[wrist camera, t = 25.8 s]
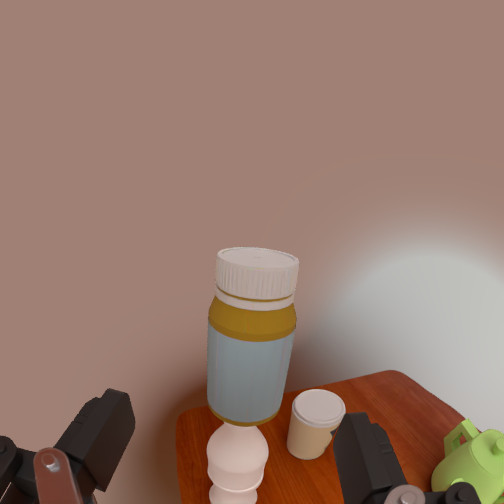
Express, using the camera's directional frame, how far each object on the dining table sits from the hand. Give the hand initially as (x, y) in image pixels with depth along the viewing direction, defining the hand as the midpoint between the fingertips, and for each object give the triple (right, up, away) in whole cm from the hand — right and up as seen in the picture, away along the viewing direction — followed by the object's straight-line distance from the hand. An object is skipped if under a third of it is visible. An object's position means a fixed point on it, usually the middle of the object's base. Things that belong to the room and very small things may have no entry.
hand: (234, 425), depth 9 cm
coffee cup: (+11, -31, +35) cm, 48 cm away
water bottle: (-2, -33, +21) cm, 39 cm away
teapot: (+38, -38, +15) cm, 56 cm away
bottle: (0, -9, +16) cm, 18 cm away
